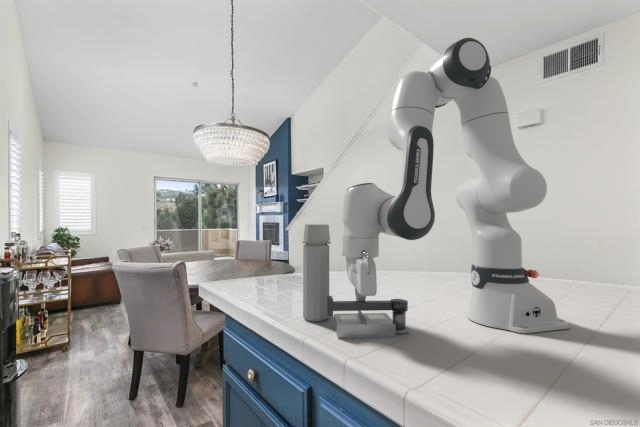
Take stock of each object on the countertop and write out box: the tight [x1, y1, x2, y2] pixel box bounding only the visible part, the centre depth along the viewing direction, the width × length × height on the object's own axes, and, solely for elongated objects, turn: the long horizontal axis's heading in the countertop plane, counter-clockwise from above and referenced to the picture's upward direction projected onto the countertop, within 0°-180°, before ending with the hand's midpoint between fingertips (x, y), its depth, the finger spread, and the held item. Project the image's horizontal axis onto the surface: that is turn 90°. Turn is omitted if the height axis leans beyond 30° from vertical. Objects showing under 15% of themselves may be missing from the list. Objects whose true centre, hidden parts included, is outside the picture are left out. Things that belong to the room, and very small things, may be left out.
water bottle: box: [301, 223, 332, 323], centre depth 81 cm, size 9×8×25 cm
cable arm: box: [327, 295, 409, 318], centre depth 71 cm, size 19×4×4 cm, turn 93°
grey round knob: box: [391, 310, 410, 335], centre depth 71 cm, size 4×4×4 cm
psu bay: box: [333, 311, 397, 339], centre depth 71 cm, size 13×8×4 cm, turn 93°
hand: (360, 305), depth 74 cm, fingers closed
